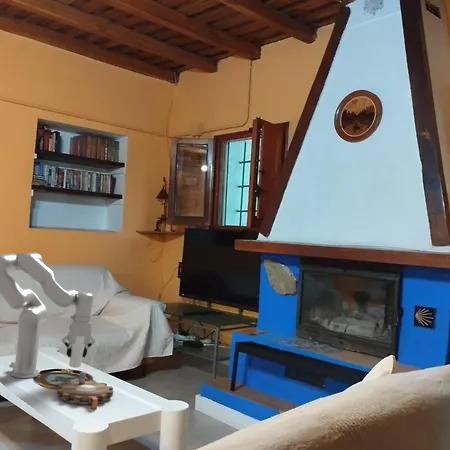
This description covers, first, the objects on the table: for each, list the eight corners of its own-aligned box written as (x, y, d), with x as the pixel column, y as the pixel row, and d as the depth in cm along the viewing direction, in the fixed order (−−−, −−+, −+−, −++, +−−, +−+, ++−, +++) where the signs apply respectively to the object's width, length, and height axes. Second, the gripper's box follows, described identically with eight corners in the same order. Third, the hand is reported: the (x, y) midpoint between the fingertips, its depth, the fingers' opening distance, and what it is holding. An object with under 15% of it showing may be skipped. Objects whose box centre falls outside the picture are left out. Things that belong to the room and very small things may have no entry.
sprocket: (52, 385, 230) (53, 370, 230) (104, 383, 242) (106, 368, 242) (62, 404, 210) (64, 387, 210) (119, 400, 221) (121, 384, 221)
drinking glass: (77, 369, 241) (82, 337, 241) (64, 366, 243) (69, 334, 243) (84, 365, 248) (89, 334, 248) (71, 363, 249) (76, 332, 249)
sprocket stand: (47, 397, 219) (48, 388, 219) (79, 384, 240) (80, 376, 240) (94, 410, 211) (95, 400, 211) (123, 395, 231) (124, 386, 231)
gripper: (64, 319, 238) (58, 358, 238) (101, 321, 246) (96, 359, 246) (61, 316, 245) (56, 354, 245) (98, 318, 253) (92, 354, 253)
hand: (76, 356), depth 245 cm, fingers closed on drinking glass, 6 cm apart
